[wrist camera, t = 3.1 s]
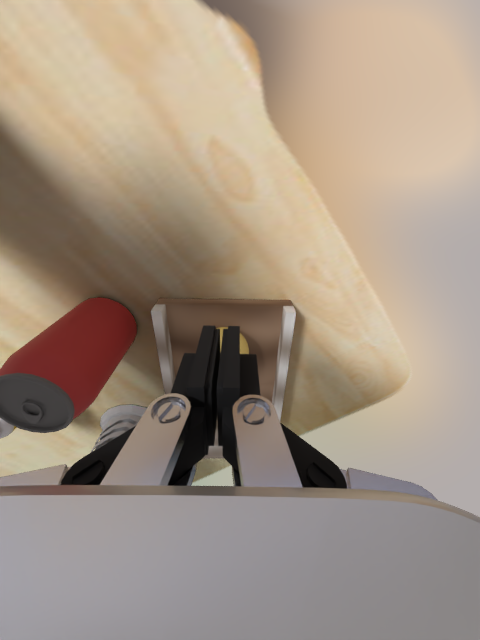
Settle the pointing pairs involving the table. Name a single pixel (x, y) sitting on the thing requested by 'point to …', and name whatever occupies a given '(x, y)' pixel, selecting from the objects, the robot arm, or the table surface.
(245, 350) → the ball
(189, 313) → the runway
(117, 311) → the beer can
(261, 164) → the table surface
